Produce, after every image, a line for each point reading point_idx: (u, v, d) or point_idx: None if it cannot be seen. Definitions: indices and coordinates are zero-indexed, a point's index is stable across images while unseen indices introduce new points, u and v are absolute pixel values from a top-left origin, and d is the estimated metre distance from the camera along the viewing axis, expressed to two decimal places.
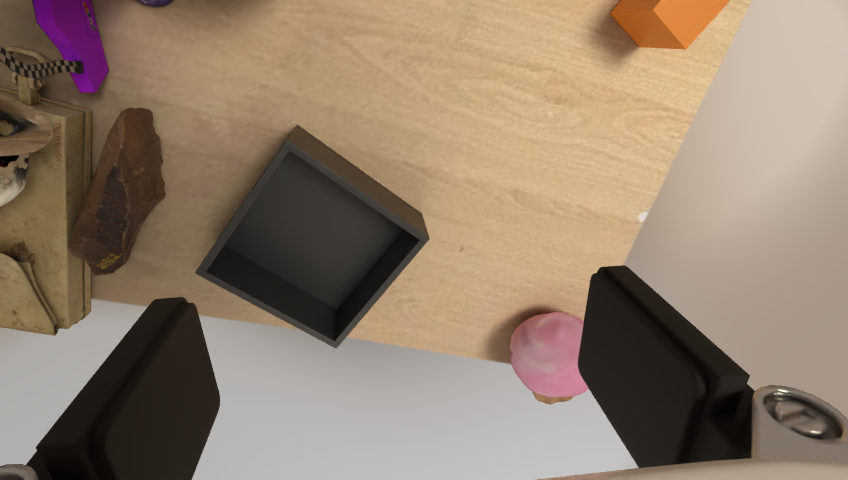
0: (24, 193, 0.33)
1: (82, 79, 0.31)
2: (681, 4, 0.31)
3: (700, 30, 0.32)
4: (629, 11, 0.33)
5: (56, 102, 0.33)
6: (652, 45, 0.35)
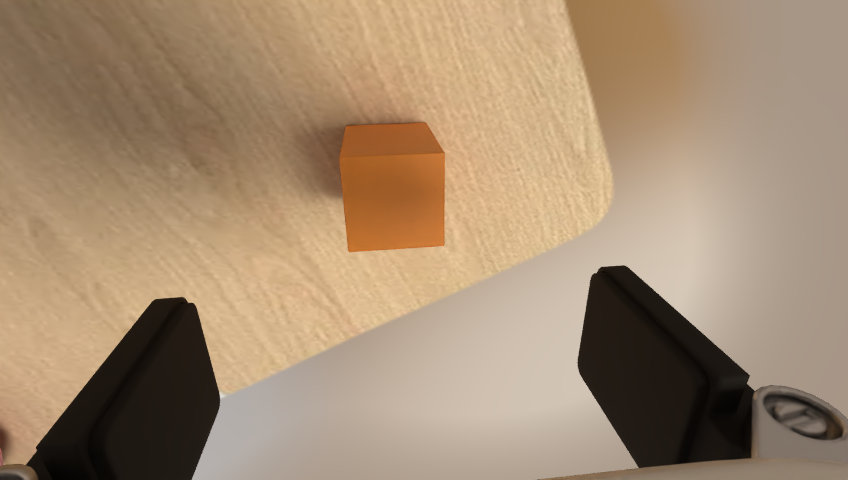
0: None
1: None
2: (382, 189, 0.18)
3: (383, 246, 0.19)
4: (343, 139, 0.19)
5: None
6: None
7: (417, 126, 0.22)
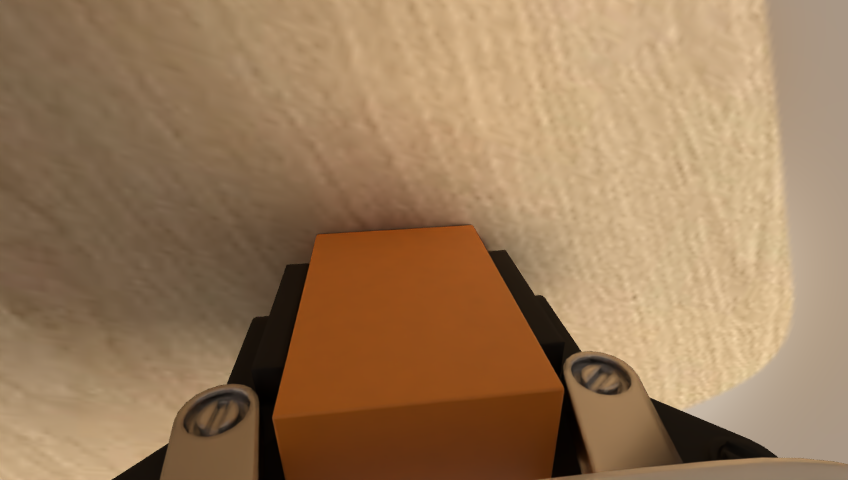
0: None
1: None
2: (393, 477, 0.07)
3: None
4: (302, 297, 0.09)
5: None
6: None
7: (458, 240, 0.11)
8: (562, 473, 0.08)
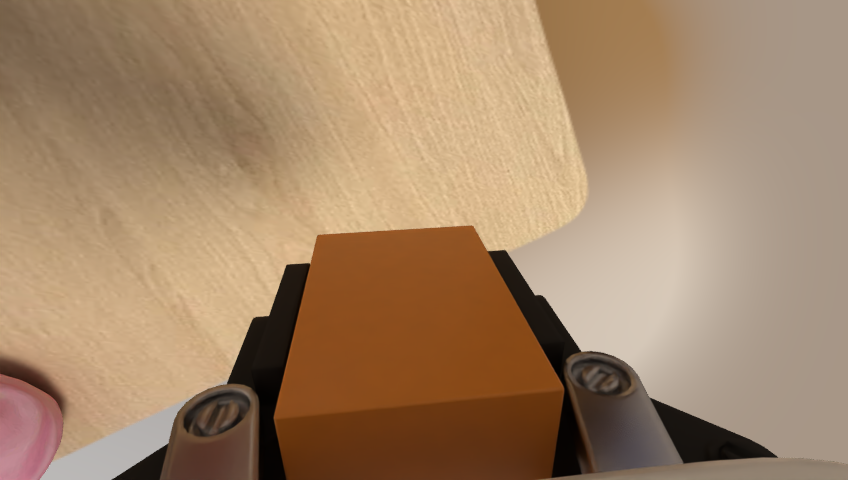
0: None
1: None
2: (394, 476, 0.07)
3: None
4: (303, 298, 0.09)
5: None
6: None
7: (459, 240, 0.11)
8: (562, 473, 0.08)
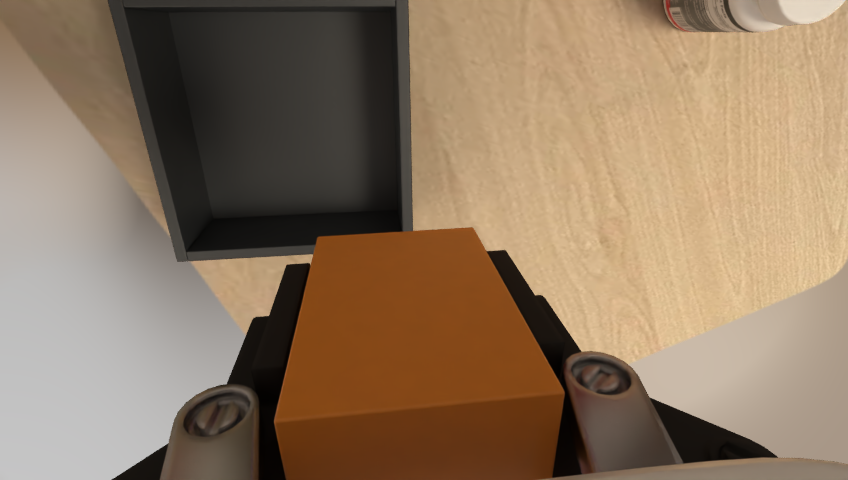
0: None
1: None
2: None
3: None
4: (303, 300, 0.09)
5: None
6: None
7: (459, 242, 0.11)
8: (562, 473, 0.08)
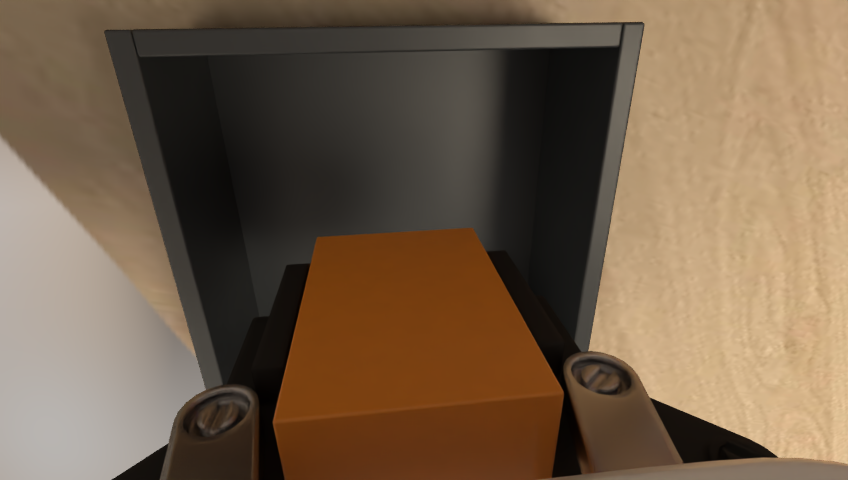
0: None
1: None
2: None
3: None
4: (302, 300, 0.09)
5: None
6: None
7: (459, 242, 0.11)
8: (562, 473, 0.08)
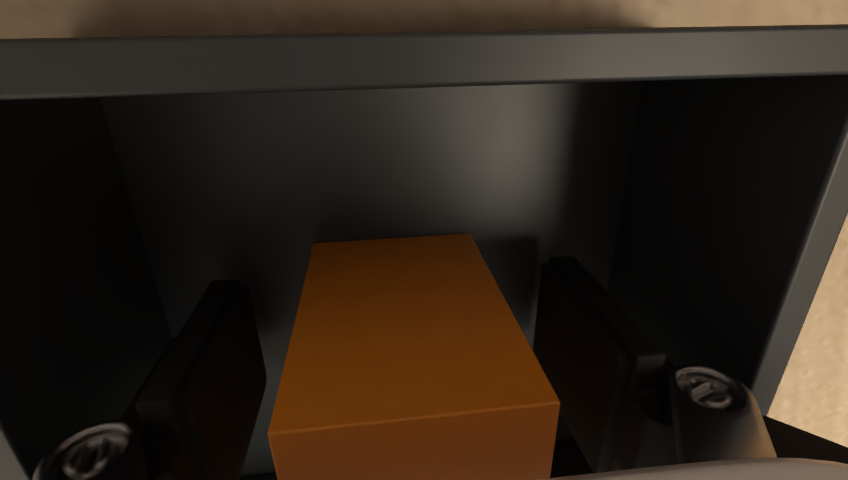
0: None
1: None
2: None
3: None
4: (298, 309, 0.09)
5: None
6: None
7: (455, 248, 0.11)
8: None
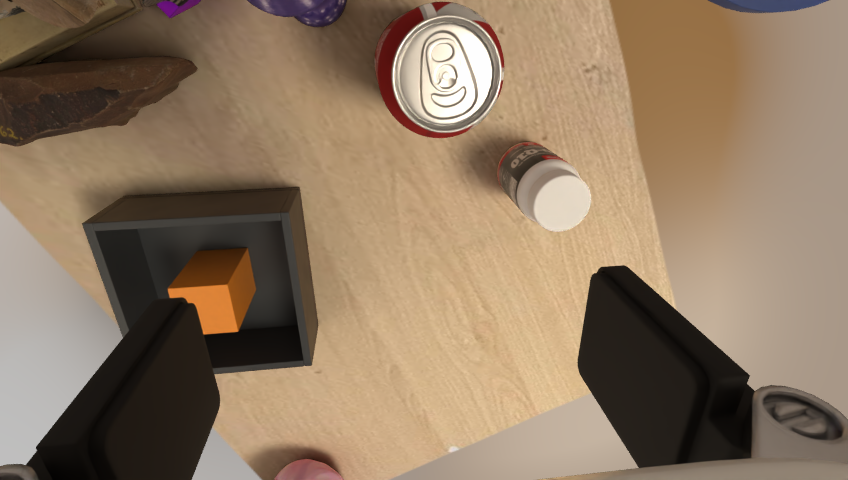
0: None
1: (171, 1, 0.27)
2: (195, 304, 0.32)
3: None
4: (183, 268, 0.34)
5: None
6: None
7: (238, 252, 0.36)
8: None
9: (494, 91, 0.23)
